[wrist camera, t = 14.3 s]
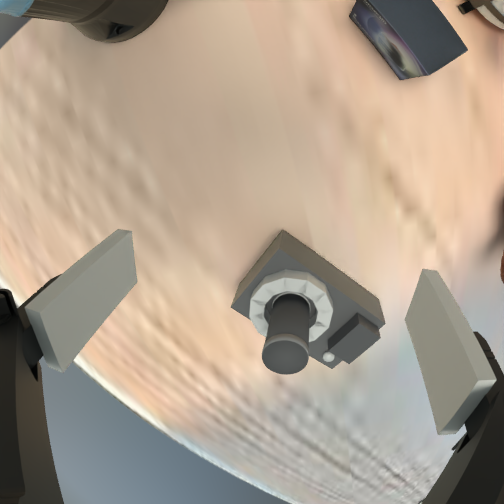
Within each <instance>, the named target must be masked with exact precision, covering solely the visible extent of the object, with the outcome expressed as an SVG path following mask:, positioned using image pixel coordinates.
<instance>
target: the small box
mask: <svg viewBox="0 0 504 504" xmlns="http://www.w3.org/2000/svg"><path fill="white" fill-rule="evenodd" d="M349 17H350V18H351V19H352V20H353V21H354V23H355V24H356V25H357V26H358V27H359V28H360V29H361V31H362V32H363V33H364V34H365V35H366V36H367V38H368V39H369V40H370V41H371V42H372V44H373V45H374V46H375V47H376V49H377V50H378V51H379V52H380V54H381V55H382V56H383V58H384V59H385V60H386V61H387V63H388V64H389V65H390V67H391V68H392V69H393V71H394V72H395V73H396V75H397V76H398V78H399V79H400V80H404V79H409V78H414V77H420V76H427V75H431V74H432V73H434V72H436V71H437V70H439V69H440V68H442V67H443V66H445V65H447V64H448V63H450V62H451V61H453V60H454V59H456V58H457V57H459V56H460V55H462V54H463V53H465V52H466V51H468V49H467V47H466V46H465V44H464V43H463V41H462V40H461V38H460V37H459V35H458V34H457V33H456V31H455V30H454V28H453V27H452V26H451V24H450V23H449V22H448V20H447V19H446V17H445V16H444V15H443V14H442V12H441V11H440V10H439V8H438V7H437V6H436V5H435V3H434V2H433V1H432V0H356V3H355V5H354V7H353V9H352V11H351V13H350V15H349Z"/></svg>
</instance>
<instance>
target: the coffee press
mask: <svg viewBox="0 0 504 504" xmlns="http://www.w3.org/2000/svg"><path fill="white" fill-rule="evenodd" d="M458 7H459V8H460V10H461V11H462V12H463V14H465V13H467V12H469V11H472V10H474V9H476V8H477V10H478V11H479V12H480V13H481V14H482V15H483V16H484V17H485V18H486V19H487V20H488V21H490V22H491V23H493V24H494V25H496V26H497V27H499V28H501V29H503V30H504V0H469V1H467V2H465V3H463V4H461V5H459V6H458Z"/></svg>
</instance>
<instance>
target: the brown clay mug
mask: <svg viewBox="0 0 504 504" xmlns="http://www.w3.org/2000/svg"><path fill="white" fill-rule="evenodd" d="M500 270H501V279H502V281H503V283H504V252H503V256H502V260H501V269H500Z"/></svg>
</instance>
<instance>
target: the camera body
mask: <svg viewBox="0 0 504 504" xmlns="http://www.w3.org/2000/svg"><path fill="white" fill-rule="evenodd" d="M286 291H290V292H297V293H302V294H304V295H305V296H307V297H308V299H309V301H310V324H309V356H311V357H312V358H314V359H316V360H317V361H319V362H321V363H323V364H324V365H326V366H328V367H329V368H331V369H333V368H334V367H335V366H336V365H338V364H339V363H340V362H341V361H345V362H347V363H348V364H350V363H351V362H352V361H354V360H355V359H356V358H357V357H358V356H360V355H361V354H362V353H363V352H365V351H366V350H367V349H368V348H369V347H370V346H372V345H373V344H374V343H375V342H376V341H378V340H379V339H380V333H379V329H380V328H381V327H382V326H383V325H385V324H386V323H385V320H384V316H383V312H382V309H381V305H380V302H379V299H378V298H377V297H375V296H374V295H373V294H371V293H370V292H369V291H367V290H366V289H365V288H363V287H362V286H360V285H359V284H358V283H356V282H355V281H354V280H352V279H351V278H350V277H348V276H347V275H346V274H344V273H343V272H342V271H340V270H339V269H337V268H336V267H335V266H333V265H332V264H331V263H329V262H328V261H326V260H325V259H324V258H322V257H321V256H320V255H318V254H317V253H315V252H314V251H313V250H311V249H310V248H308V247H307V246H306V245H304V244H303V243H301V242H300V241H299V240H297V239H296V238H294V237H293V236H292V235H290V234H289V233H287V232H286V231H285V230H282V231H281V233H280V234H279V235H278V236H277V238H276V239H275V240H274V241H273V243H272V244H271V245H270V246H269V248H268V249H267V250H266V252H265V253H264V254H263V255H262V257H261V258H260V259H259V260H258V262H257V263H256V264H255V265H254V267H253V268H252V269H251V270H250V272H249V273H248V274H247V275H246V277H245V278H244V279H243V280H242V282H241V283H240V284H239V287H238V289H237V292H236V294H235V297H234V300H233V302H232V305H231V308H233V309H234V310H236V311H237V312H239V313H240V314H242V315H244V316H245V317H247V318H248V319H250V320H251V321H252V323H253V324H254V326H255V328H256V329H257V331H258V333H260V334H261V335H263V336H265V337H266V335H267V330H268V326H269V321H270V316H271V311H272V304H273V300H274V298H275V297H276V295H277V294H279V293H282V292H286Z"/></svg>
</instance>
